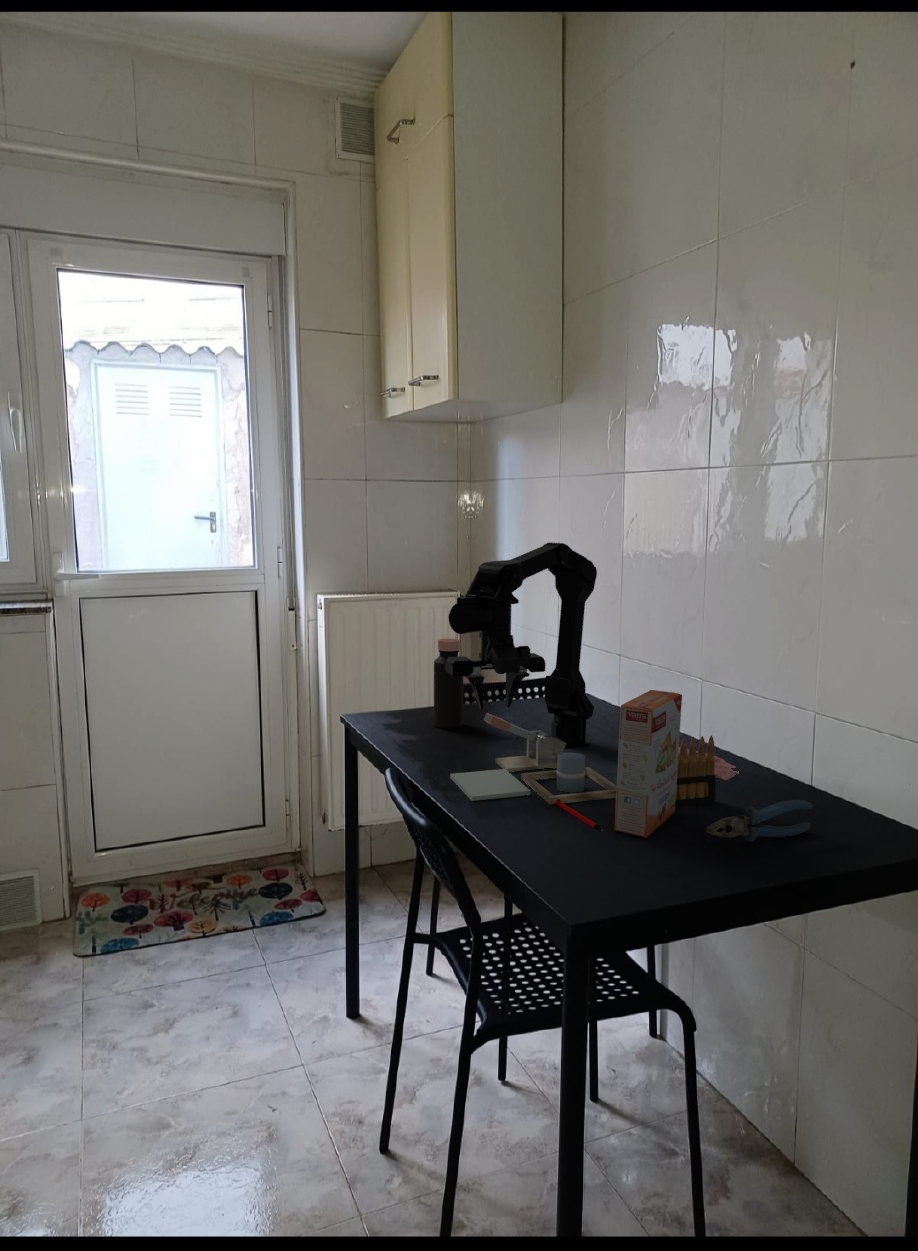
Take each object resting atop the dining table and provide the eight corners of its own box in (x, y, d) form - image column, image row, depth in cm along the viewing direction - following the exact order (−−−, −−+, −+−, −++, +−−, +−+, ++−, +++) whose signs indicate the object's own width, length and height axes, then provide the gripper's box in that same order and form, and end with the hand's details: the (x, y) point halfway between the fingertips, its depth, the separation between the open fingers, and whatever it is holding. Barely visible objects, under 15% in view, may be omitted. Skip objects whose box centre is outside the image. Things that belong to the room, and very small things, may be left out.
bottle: (445, 720, 208) (445, 636, 205) (468, 724, 204) (469, 639, 201) (427, 726, 203) (428, 640, 200) (451, 730, 199) (452, 643, 196)
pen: (544, 795, 158) (544, 789, 158) (604, 832, 141) (604, 826, 140) (540, 796, 157) (540, 790, 157) (599, 833, 140) (599, 827, 140)
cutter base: (550, 757, 180) (551, 728, 179) (564, 767, 173) (565, 737, 172) (495, 762, 176) (495, 733, 175) (507, 772, 169) (507, 742, 168)
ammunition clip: (660, 808, 151) (663, 740, 149) (655, 804, 153) (658, 737, 151) (715, 803, 154) (719, 736, 152) (709, 799, 156) (713, 733, 154)
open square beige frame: (588, 773, 170) (588, 767, 169) (622, 797, 156) (623, 790, 156) (520, 779, 165) (520, 773, 165) (550, 804, 152) (550, 798, 152)
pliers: (711, 853, 132) (713, 816, 131) (702, 848, 134) (704, 811, 133) (813, 835, 140) (816, 799, 139) (803, 830, 142) (806, 795, 141)
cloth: (741, 787, 164) (742, 775, 164) (623, 775, 171) (624, 763, 171) (743, 756, 183) (744, 745, 183) (637, 746, 190) (638, 735, 190)
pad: (505, 773, 169) (505, 769, 169) (530, 795, 157) (530, 790, 157) (450, 778, 166) (450, 773, 166) (471, 801, 154) (471, 796, 154)
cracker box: (649, 840, 137) (654, 709, 134) (612, 832, 140) (617, 704, 137) (678, 813, 149) (683, 692, 146) (644, 806, 152) (648, 687, 149)
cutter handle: (553, 752, 178) (560, 739, 178) (560, 757, 174) (566, 743, 174) (482, 723, 172) (488, 709, 172) (487, 727, 169) (494, 713, 169)
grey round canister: (577, 782, 164) (578, 751, 163) (589, 791, 159) (590, 759, 158) (551, 785, 163) (552, 753, 162) (563, 794, 158) (564, 762, 157)
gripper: (462, 637, 158) (461, 721, 160) (557, 633, 163) (555, 715, 166) (444, 627, 168) (444, 707, 171) (535, 624, 174) (533, 701, 176)
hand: (494, 708), depth 170 cm, fingers open, 5 cm apart
